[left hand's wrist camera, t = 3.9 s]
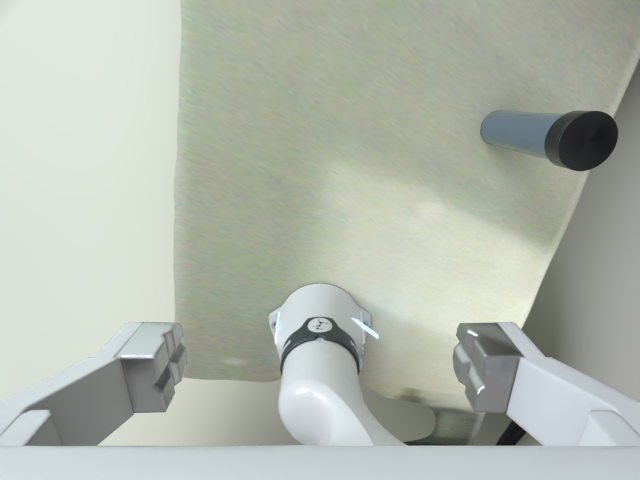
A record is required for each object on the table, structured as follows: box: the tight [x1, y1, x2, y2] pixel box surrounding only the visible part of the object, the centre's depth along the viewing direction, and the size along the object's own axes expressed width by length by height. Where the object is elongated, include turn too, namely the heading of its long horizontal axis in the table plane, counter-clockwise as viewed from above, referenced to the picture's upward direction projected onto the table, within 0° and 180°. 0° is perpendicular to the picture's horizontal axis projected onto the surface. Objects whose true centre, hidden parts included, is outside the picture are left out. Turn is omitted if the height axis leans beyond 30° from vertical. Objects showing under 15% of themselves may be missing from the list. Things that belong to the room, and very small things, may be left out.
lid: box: [544, 111, 618, 171], centre depth 37 cm, size 6×6×2 cm
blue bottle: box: [481, 111, 565, 159], centre depth 45 cm, size 5×5×19 cm
